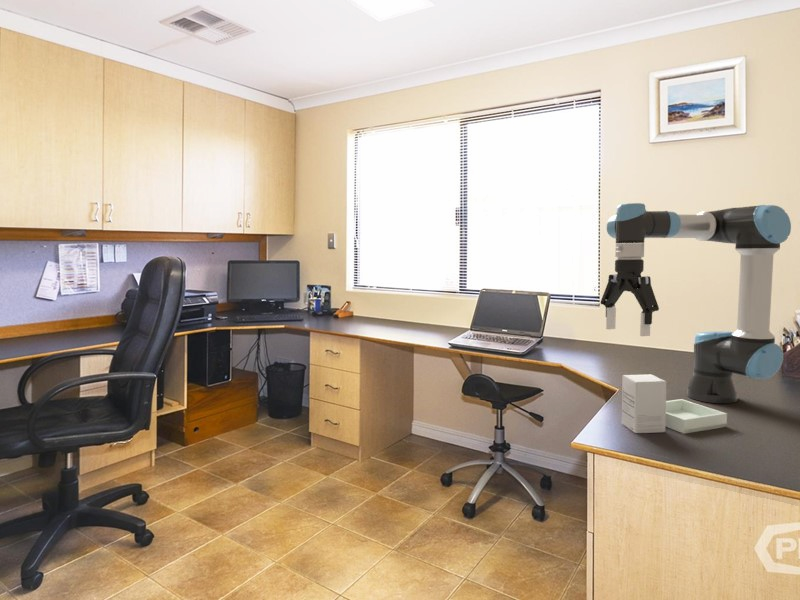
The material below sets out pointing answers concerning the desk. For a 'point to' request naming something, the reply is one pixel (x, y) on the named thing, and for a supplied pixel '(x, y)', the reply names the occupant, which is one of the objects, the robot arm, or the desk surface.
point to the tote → (692, 417)
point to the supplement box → (644, 403)
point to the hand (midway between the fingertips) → (627, 332)
